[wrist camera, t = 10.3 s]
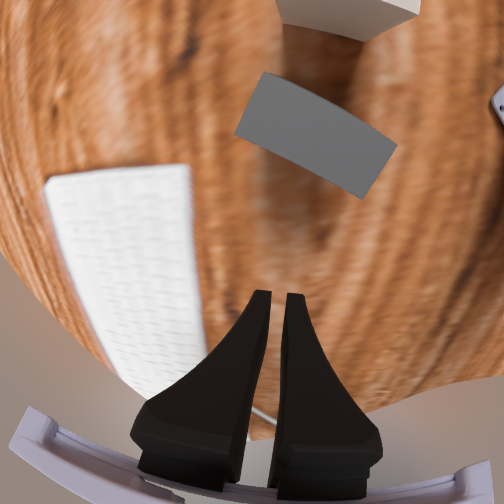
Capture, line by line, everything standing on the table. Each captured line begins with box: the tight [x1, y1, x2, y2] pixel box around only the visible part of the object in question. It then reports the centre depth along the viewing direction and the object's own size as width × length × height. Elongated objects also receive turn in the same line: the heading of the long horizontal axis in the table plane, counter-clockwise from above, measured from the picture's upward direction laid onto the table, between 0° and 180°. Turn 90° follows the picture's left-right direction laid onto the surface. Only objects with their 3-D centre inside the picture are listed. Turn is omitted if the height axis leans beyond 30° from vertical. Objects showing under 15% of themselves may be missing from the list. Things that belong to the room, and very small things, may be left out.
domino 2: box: [234, 72, 397, 200], centre depth 13 cm, size 2×5×9 cm, turn 66°
